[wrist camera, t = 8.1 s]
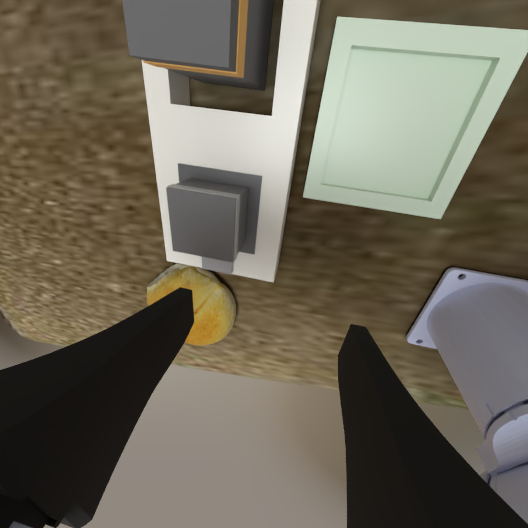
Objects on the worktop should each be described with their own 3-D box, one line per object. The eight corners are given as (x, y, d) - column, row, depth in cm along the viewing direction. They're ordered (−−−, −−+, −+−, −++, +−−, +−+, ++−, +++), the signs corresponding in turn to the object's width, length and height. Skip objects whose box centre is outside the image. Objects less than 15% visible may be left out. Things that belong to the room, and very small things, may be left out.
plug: (274, -4, 13) (236, -116, 7) (265, 91, 15) (229, 69, 9) (201, -10, 13) (104, -122, 7) (202, 83, 15) (128, 57, 9)
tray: (522, 37, 12) (538, 31, 11) (434, 214, 16) (440, 219, 15) (335, 23, 13) (337, 16, 12) (303, 193, 17) (302, 197, 16)
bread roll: (203, 338, 28) (187, 367, 25) (146, 283, 25) (119, 308, 22) (256, 312, 24) (247, 343, 21) (197, 246, 22) (174, 268, 18)
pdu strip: (328, -50, 11) (335, -169, 7) (278, 266, 21) (266, 307, 16) (155, -57, 12) (58, -165, 8) (181, 247, 22) (144, 280, 17)
